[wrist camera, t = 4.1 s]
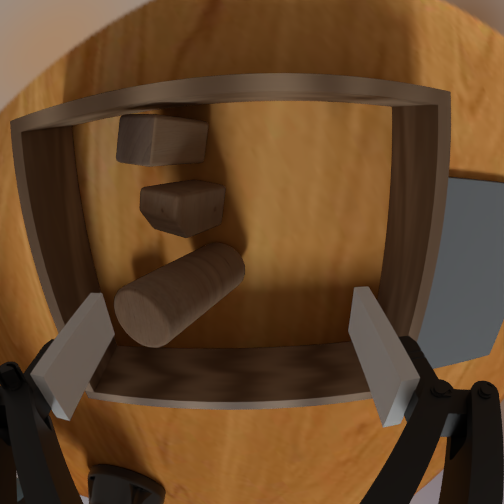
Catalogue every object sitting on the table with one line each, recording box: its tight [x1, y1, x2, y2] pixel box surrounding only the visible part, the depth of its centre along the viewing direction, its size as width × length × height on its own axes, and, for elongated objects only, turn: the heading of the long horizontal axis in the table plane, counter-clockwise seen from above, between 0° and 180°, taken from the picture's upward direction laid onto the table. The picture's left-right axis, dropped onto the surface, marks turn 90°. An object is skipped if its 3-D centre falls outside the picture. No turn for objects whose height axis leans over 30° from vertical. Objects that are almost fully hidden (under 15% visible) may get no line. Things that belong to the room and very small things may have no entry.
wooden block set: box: [114, 114, 245, 348], centre depth 21 cm, size 18×9×10 cm, turn 172°
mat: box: [417, 177, 504, 369], centre depth 27 cm, size 14×22×1 cm, turn 2°
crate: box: [10, 73, 451, 410], centre depth 23 cm, size 28×24×7 cm
